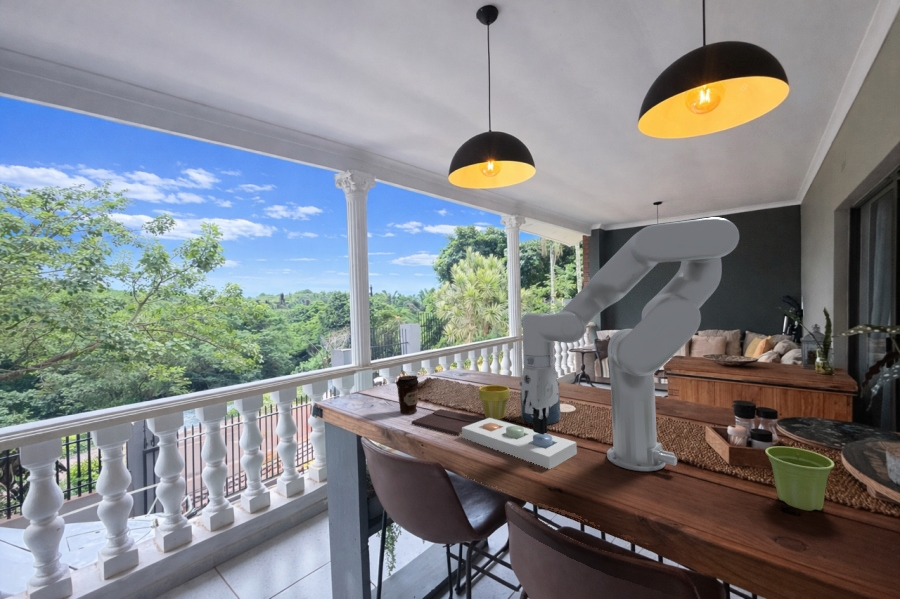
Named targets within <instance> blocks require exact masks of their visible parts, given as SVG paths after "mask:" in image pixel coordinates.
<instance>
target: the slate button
mask: <svg viewBox="0 0 900 599" xmlns="http://www.w3.org/2000/svg"><path fill="white" fill-rule="evenodd" d="M548 434H549V433H546V434H543V435H542V434H535V435H533V445H535V446H538V447H541V448H545V449H546V448H548V447H550V446H552V436H551V435H552V434H549V435H548Z"/></svg>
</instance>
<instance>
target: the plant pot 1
mask: <svg viewBox="0 0 900 599" xmlns="http://www.w3.org/2000/svg"><path fill="white" fill-rule="evenodd" d="M478 397H479V399H480V400H481V405H482V408H483V409H482V410H483V413H484V418H486V419H487V418H493V419H496V420H501V419H503V418H505V416H506V412H507V404H508V400H509V399H510V387H508V386H506V385H501V384H499V385H498V384H492V385H484V386H483V385H482V386H480V387H479V388H478Z"/></svg>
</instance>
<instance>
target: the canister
mask: <svg viewBox="0 0 900 599" xmlns="http://www.w3.org/2000/svg"><path fill="white" fill-rule="evenodd" d="M521 378H522V375H521ZM518 383H519V386H520V392H519V397H520V417H521V420H522V421H524V422H525V421H526V422H525V423H529V424H532V425H533V417H532V416H531V414H528V413H525V406H524V405H523V404H522V380H520V381H519V382H518ZM557 383H558V387H560V382H559V381H558V380H557ZM560 395H561V392H559V391H558V402H557V403H556V404H553V406H551V407H550V408H549V412H548V417H546V418H547V425H552V424H556V423H558V422H560V421H561V417H562V411H561V400H560V399H561V398H560V397H561V396H560Z"/></svg>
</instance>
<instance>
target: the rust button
mask: <svg viewBox="0 0 900 599" xmlns="http://www.w3.org/2000/svg"><path fill="white" fill-rule="evenodd" d="M483 429H485V430H488V431H491V432H492V431H494V430H497V429H499V425H498V424H495V423H487V424H484V425H483Z"/></svg>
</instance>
